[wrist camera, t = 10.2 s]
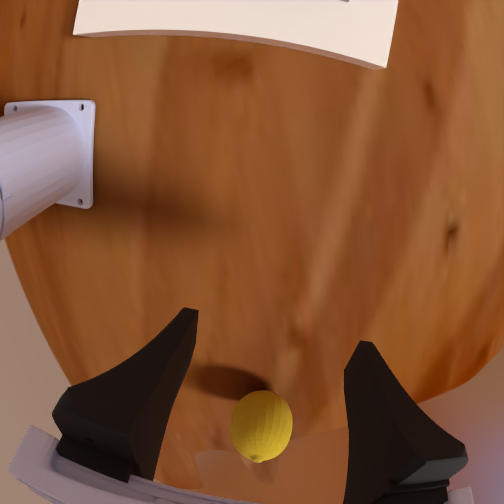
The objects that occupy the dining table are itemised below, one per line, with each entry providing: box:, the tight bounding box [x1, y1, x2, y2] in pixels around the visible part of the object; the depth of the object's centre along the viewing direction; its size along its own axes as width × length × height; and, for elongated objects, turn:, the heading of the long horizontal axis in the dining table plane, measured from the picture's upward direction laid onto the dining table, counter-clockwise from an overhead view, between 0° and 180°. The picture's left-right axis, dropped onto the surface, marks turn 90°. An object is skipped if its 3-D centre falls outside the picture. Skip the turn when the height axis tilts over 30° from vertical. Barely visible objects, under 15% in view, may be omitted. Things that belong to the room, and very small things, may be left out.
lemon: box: [231, 390, 292, 463], centre depth 26 cm, size 6×6×8 cm
